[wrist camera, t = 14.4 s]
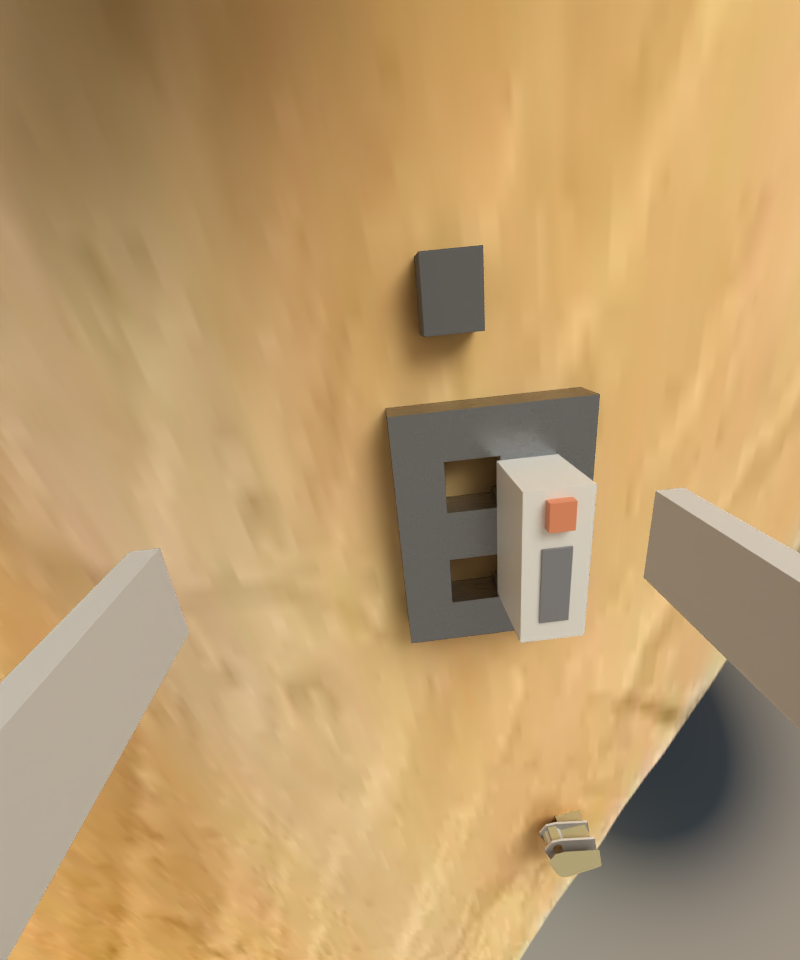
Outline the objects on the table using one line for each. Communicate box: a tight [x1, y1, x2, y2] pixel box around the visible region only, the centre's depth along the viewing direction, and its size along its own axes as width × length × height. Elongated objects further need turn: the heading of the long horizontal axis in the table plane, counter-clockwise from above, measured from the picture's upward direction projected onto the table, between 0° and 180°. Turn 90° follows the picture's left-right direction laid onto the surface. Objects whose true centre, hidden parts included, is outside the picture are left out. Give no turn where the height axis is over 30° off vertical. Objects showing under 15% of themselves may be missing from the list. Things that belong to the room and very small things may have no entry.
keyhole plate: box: [386, 387, 600, 643], centre depth 42 cm, size 18×24×4 cm
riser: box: [414, 245, 485, 337], centre depth 34 cm, size 5×6×3 cm
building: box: [539, 810, 601, 877], centre depth 61 cm, size 10×9×6 cm
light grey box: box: [497, 454, 597, 643], centre depth 38 cm, size 6×14×11 cm, turn 5°
